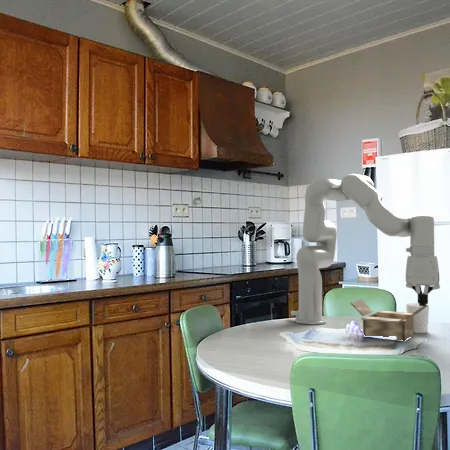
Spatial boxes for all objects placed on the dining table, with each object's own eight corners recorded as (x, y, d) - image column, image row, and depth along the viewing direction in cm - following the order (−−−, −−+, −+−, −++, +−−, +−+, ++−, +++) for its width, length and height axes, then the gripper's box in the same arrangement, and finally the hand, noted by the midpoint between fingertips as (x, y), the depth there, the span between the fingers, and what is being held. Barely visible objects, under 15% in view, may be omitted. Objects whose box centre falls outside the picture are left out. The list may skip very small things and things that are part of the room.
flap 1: (362, 315, 166) (350, 303, 169) (372, 312, 175) (360, 300, 178) (363, 314, 166) (351, 302, 169) (373, 311, 175) (361, 299, 178)
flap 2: (405, 318, 158) (419, 308, 156) (413, 314, 167) (426, 304, 165) (406, 320, 158) (420, 309, 155) (414, 316, 167) (427, 306, 164)
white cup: (431, 334, 172) (431, 306, 173) (408, 333, 174) (408, 305, 174) (426, 330, 180) (426, 303, 180) (404, 329, 182) (404, 303, 182)
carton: (358, 339, 161) (358, 317, 161) (377, 330, 179) (377, 310, 180) (400, 344, 153) (400, 321, 154) (416, 334, 171) (416, 313, 172)
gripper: (396, 251, 162) (397, 305, 161) (444, 252, 154) (444, 309, 153) (402, 251, 168) (402, 303, 168) (448, 251, 160) (448, 306, 159)
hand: (422, 305), depth 160 cm, fingers closed
